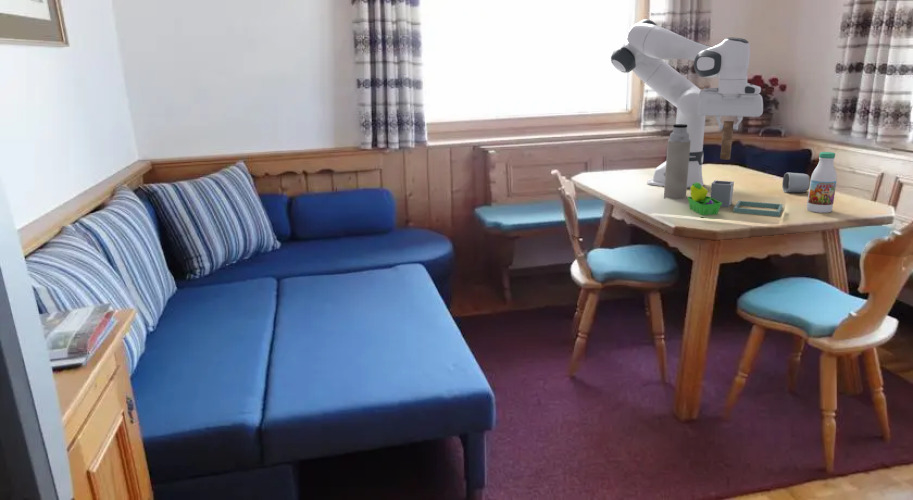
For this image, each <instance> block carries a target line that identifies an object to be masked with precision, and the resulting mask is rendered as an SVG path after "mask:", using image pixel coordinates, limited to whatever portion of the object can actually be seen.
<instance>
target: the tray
mask: <svg viewBox="0 0 913 500" xmlns="http://www.w3.org/2000/svg"><path fill="white" fill-rule="evenodd" d="M741 206H742V207H741ZM783 206H784V204H783V203H772V202H759V201H746V200H738V201H737V202H736V204H735V205H734V206H733V211H732V213H734V214H735V213H737V214H748V215H758V216H769V217H780V215H781V213H782V209H783ZM745 207H746V208H745ZM747 207H754V208H755V209H754V208H747ZM757 208H766V209H767V210H766V209H757ZM769 209H775V210H769ZM776 209H777V210H776Z"/></svg>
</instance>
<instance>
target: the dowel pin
mask: <svg viewBox="0 0 913 500" xmlns="http://www.w3.org/2000/svg"><path fill="white" fill-rule="evenodd" d="M723 124H724V125H723V129H722V136H721V145H720V146H721V147H720V156H719V157H720V158H719V159H720V160H731V153H732V144H733V135H734V130H733V125H734V124H735V121H734V120H723Z"/></svg>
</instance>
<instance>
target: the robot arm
mask: <svg viewBox="0 0 913 500" xmlns="http://www.w3.org/2000/svg"><path fill="white" fill-rule="evenodd" d="M750 58H751V46H750V42H749V41H748V40H747V39H745V38H742V37H741V38H740V37H726V38H724V40H722V41H721V42H720V43H718V44H716V45H714V46H711V45H707V44H703V43H700V42H698V41H694V40H692V39H690V38H687V37H685V36H682V35H680V34H678V33H676V32H674V31H672V30H669V29H667V28H665V27H662V26H659V25H658V24H657V23H655V22H654V21H652V20H650V19H649V18H648V19H647V18H645V19H641V20H640V21H639V22H636V23H635V24H633V26H631V27H630V29H629V30H628V33H627V34H626V35H625V36H624V38H623V39H622V41H620V43H619V45H618V46H617V48H615V49H614V51H613V52H612V54H611V56H610V61H611V64H612V65H613V67H614V68H615V69H616V70H618V71H620V72H621V73H625V74H626V73H631V72H633V74H635V75H636V76H637V77H638V78H639V79H640V80H641V81H642V82H643V83H645V85H647V86H648V87H649V88H650V89H652V90H653V91H654V92H655V93H656V94H657V95H659V96H660V97H662V98H663V99H665V100H666V101H667V102H669V103H670V104H671V105H673V106H674V107H675V108H676V117H675V119H676V120H675V124H685V125H687V133H688V134H689V140H691V141H690V154H689V166H688V178H687V189H688V188H691V186H692V184H693V183H694V184H695V183H700V184H701V186H703V187H704V178H703V162H704V154H705V153H704V150H703V148H704V138H705V137H704V136H705V127H706V117H707V116H708V117H709V116H710V117H711V116H712V117H713V116H714V117H715V120H716V122H717V125H718V128H717V129H718V130H723V125H724V123H722V121H721V119H722V117H737V122H736V123H734V125H733V131H738V130H739V125H740V123H741V122H742V121H743V118H745V117H746V118H752V117H753V118H759V117H760V116H762V115H763V113H764V112H763V111H764V101H763V100H764V99H763V95H761V94H760V93H761V91H762V88H761V86H758V85H757V84H756V85H755V84H753V83H749V82H748V77H749V76H748V69H749V66H750ZM665 60H666V61H667V60H689V61H694V62H693V68H694V71H695V73H696V75H697V76H699V77H701V78H706V79H707V78H708V79H709V78H718V84H717V85H718V87H712V88H711V87H705V88H703V89H701V88H699V87H698V86H697V85H695V83H693V82H692V81H690V79H688V78H686V77H685V76H684V75H683V74H681V73H680V72H678V70H676V69H675V68H674V67H672V66H671V65H670V64H669V63H667V62H666V61H665ZM665 173H666V160H665V161H664V162H662V163H660V165H657V166H656V168H655V170H654V171H653V174H652V177H651V178H648V179H647V182H646V183H647V185H651V186H659V187H665Z"/></svg>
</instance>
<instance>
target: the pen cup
mask: <svg viewBox="0 0 913 500" xmlns="http://www.w3.org/2000/svg"><path fill="white" fill-rule="evenodd" d="M734 184H735V181H730V180H729V181H728V180H716V179H715V180H713V182H712V183H711V186H710V195H709V197H711V198H713V199H715V200H717V201H719V202H721V203H722V204H721V206H720V208H730V207H731V206H732V203H733V195H734V186H735V185H734Z"/></svg>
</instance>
